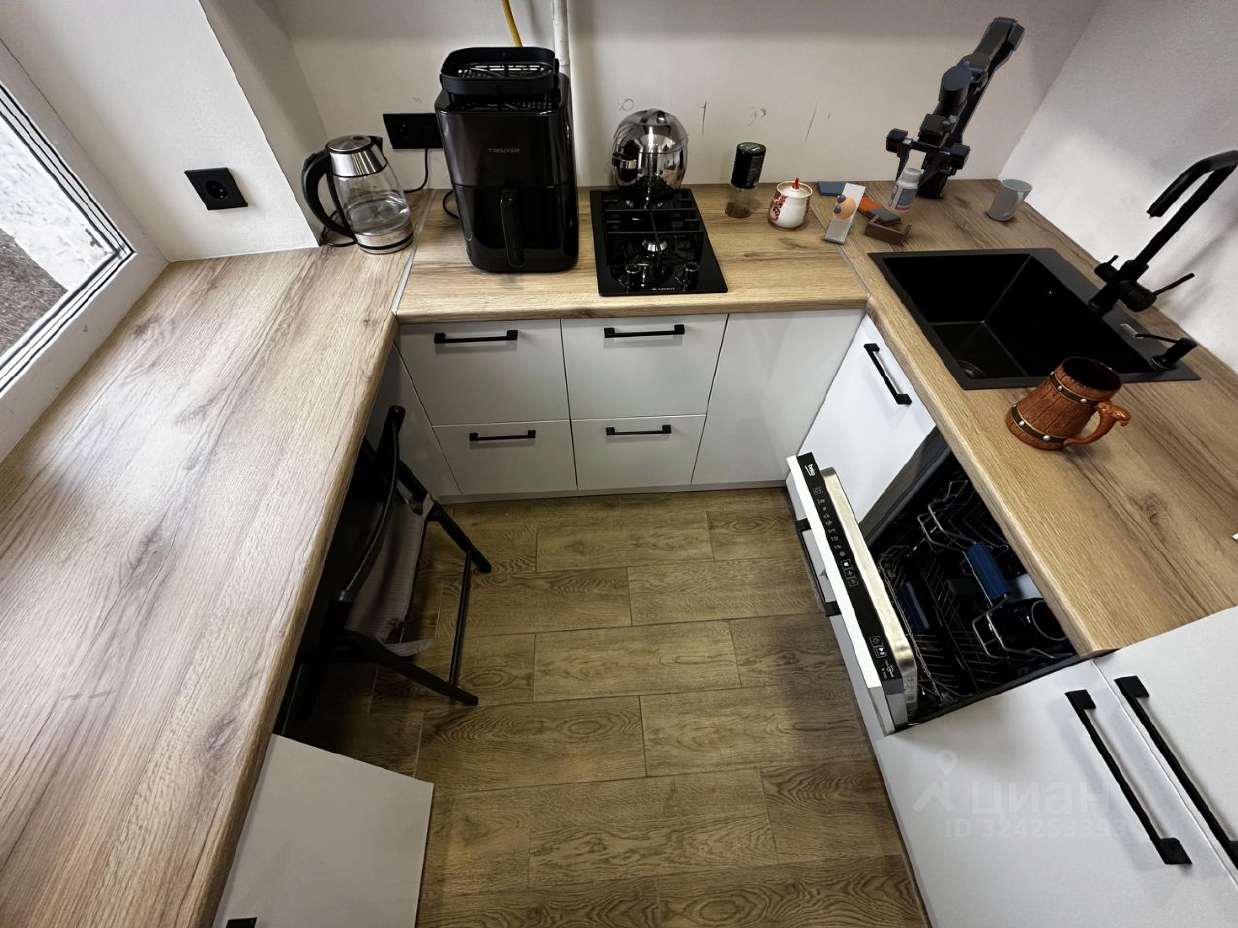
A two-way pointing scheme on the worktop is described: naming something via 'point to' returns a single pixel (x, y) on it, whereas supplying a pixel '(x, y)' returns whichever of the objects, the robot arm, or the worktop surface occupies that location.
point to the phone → (877, 212)
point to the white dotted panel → (844, 212)
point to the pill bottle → (904, 191)
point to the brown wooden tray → (886, 232)
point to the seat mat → (832, 188)
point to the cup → (1009, 198)
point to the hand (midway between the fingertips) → (906, 183)
